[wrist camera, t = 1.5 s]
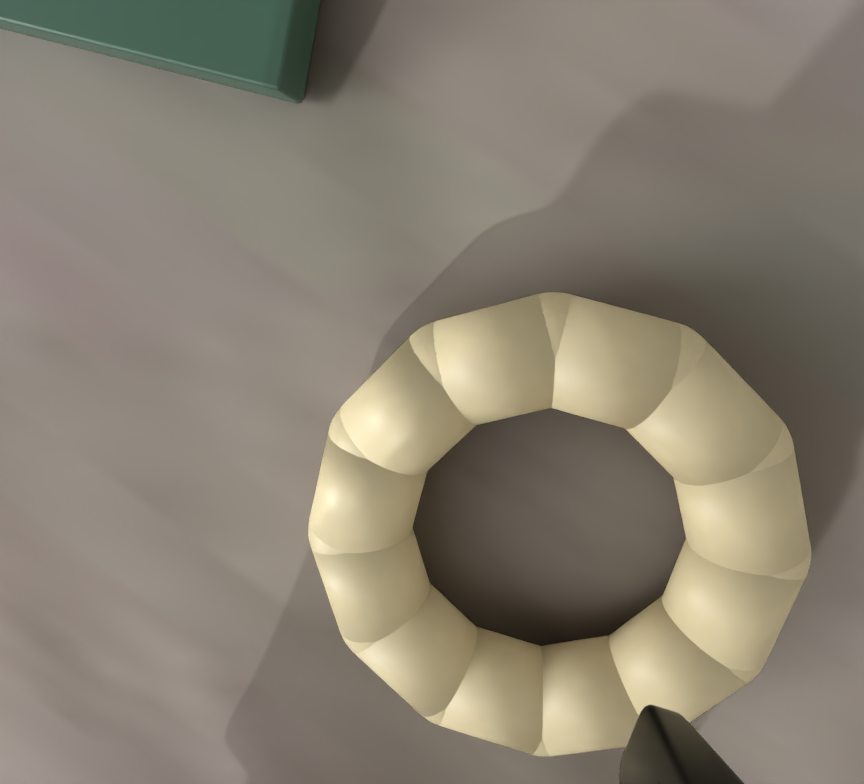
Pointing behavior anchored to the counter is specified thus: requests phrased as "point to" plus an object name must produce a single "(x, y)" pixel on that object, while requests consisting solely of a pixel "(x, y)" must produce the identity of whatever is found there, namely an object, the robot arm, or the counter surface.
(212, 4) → the stand
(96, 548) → the counter surface
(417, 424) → the ring
